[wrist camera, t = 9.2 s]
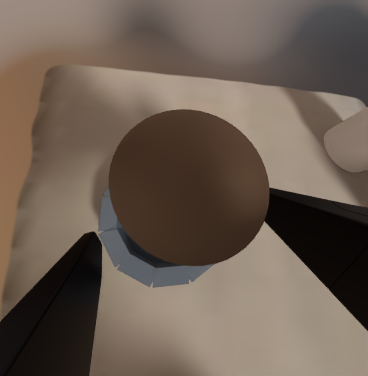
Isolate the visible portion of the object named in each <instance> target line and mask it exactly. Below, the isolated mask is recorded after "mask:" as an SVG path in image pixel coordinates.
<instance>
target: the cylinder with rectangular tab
mask: <svg viewBox="0 0 368 376" xmlns="http://www.w3.org/2000/svg"><path fill="white" fill-rule="evenodd" d="M324 145H325V148H326V151H327V153H328V155H329V156H330V158H331V159H332V160H333V161H334V162H335V163H336V164H337V165H338V166H339V167H341V168H342V169H344V170H346V171H348V172H352V173H359V172H362V171H366V170H368V107H367V108H365V109H363V110H362V111H360V112H358V113H356V114H355V115H353V116H351V117H349V118H348V119H346V120H344V121H343V122H341V123H339V124H337V125H336V126H334V127H332V128H331V129H329V130H328V131H327V132H326V133H325V135H324Z"/></svg>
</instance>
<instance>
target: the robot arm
mask: <svg viewBox="0 0 368 376" xmlns="http://www.w3.org/2000/svg"><path fill="white" fill-rule="evenodd" d="M264 221H265V222H266V223H267V224H268V225H269V227H270V228H271V229H272V230H273V231H274V232H275V233H276V234H277V235H278V236H279V237H280V238H281V239H282V240H283V241H284V242H285V244H286V245H287V246H288V247H289V248H290V249H291V250H292V251H293V252H294V253H295V254H296V255H297V256H298V257H299V258H300V259H301V261H302V262H303V263H304V264H305V265H306V266H307V267H308V268H309V269H310V270H311V271H312V272H313V273H314V274H315V275H316V276H317V277H318V279H319V280H320V281H321V282H322V283H323V284H324V285H325V286H326V287H327V288H328V289H329V290H330V291H331V293H332V294H333V295H334V296H335V297H336V298H337V299H338V300H339V301H340V302H341V303H342V304H343V305H344V306H345V307H346V308H347V310H348V311H349V312H350V313H351V314H352V315H353V316H354V317H355V318H356V319H357V320H358V321H359V322H360V323H361V324H362V326H363V327H364V328H365V329H366V330H367V331H368V208H367V207H361V206H356V205H350V204H345V203H340V202H336V201H331V200H326V199H321V198H317V197H312V196H307V195H302V194H298V193H293V192H288V191H283V190H279V189H274V188H269V205H268V210H267V214H266V217H265V220H264ZM101 278H102V244H101V241H100V240H99V238H98V236H97V235H96V233H95V232H89V233H86V234H84V235H83V236H82V237H81V238H80V239H79V240H78V241H77V242H76V243H75V244H74V245H73V246H72V247H71V248H70V249H69V250H68V251H67V252H66V253H65V254H64V256H63V257H62V258H61V259H60V260H59V261H58V262H57V263H56V264H55V265H54V266H53V267H52V268H51V269H50V270H49V271H48V272H47V273H46V274H45V275H44V276H43V278H42V279H41V280H40V281H39V282H38V283H37V284H36V285H35V286H34V287H33V288H32V289H31V290H30V291H29V292H28V293H27V294H26V295H25V296H24V297H23V298H22V299H21V301H20V302H19V303H18V304H17V305H16V306H15V307H14V308H13V309H12V310H11V311H10V312H9V313H8V314H7V315H6V316H5V317H4V318H3V319H2V320H1V322H0V376H89V372H90V364H91V357H92V349H93V341H94V333H95V326H96V318H97V310H98V302H99V295H100V287H101Z"/></svg>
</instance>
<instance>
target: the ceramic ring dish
mask: <svg viewBox="0 0 368 376" xmlns="http://www.w3.org/2000/svg"><path fill="white" fill-rule="evenodd" d="M104 195H106V196H107V197H102V202H101V211H100V219H99V228H98V231H104V232H102V233H100V234H99V236H100V238H101V240H102V242H103V244H104V246H105V248H106V250H107V252H108V254H109V256H110V258H111V260H112V262H113V264H114V266H115V267H116V266H118V265H119V264H120V266H119V267H118V269H117V270H119V271H121V272H123V273H125V274H126V275H128V276H130V277H132V278H134V279H136V280H138V281H139V282H141V283H143V284H145V285H147V286H149V287H150V285H151V284H152V282H153V288H154V287H163V286H172V285H181V284H189V279H190V281H191V282H193V281H194V280H195V279H196V278H198V277H199V276H200V275H201V274H203V273H204V272H205V271H206V270H208V269H209V268H210V267H211V266H213V265H214V264H211V265H206V266H185V265H178V264H174V263H170V262H167V261H165V260H162V259H160V258H157V257H155V256H154V255H152V254H150V253H149V252H147V251H145V250H144V249H143V248H142V247H140V246H139V245H138V244H137V243H136V242H134V240H133V239H132V238H131V237H130V236H129V235H128V234H127V233H126V231H125V230H124V228H123V227H122V225H121V224H120V222H119V220H118V218H117V216H116V214H115V212H114V209H113V206H112V202H111V199H110V192H109V187H108V188H107V190H106V191H105V192H104Z"/></svg>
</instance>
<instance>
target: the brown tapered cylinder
mask: <svg viewBox="0 0 368 376" xmlns="http://www.w3.org/2000/svg"><path fill="white" fill-rule="evenodd" d="M109 192H110V199H111V202H112V206H113V209H114V212H115V214H116V216H117V218H118V220H119V222H120V224H121V225H122V227H123V228H124V230H125V231H126V233H127V234H128V235H129V236H130V237H131V238H132V239H133V240H134V242H136V243H137V244H138V245H139V246H140V247H142V248H143V249H144V250H145V251H147V252H149V253H150V254H152V255H154V256H155V257H157V258H160V259H162V260H165V261H167V262H170V263H174V264H178V265H185V266H206V265H211V264H216V263H219V262H222V261H224V260H227V259H229V258H231V257H233V256H234V255H236V254H238V253H239V252H240V251H242V250H243V249H244V248H246V246H247V245H248V244H249V243H250V242H251V241H252V240H253V239H254V238H255V236H256V235H257V233H258V232H259V230H260V228H261V226H262V225H263V223H264V220H265V217H266V214H267V210H268V205H269V182H268V176H267V173H266V169H265V166H264V164H263V161H262V159H261V157H260V155H259V154H258V152H257V150H256V149H255V147H254V146H253V144H252V143H251V142H250V141H249V140H248V138H247V137H246V136H245V135H244V134H243V133H242V132H241V131H239V130H238V129H237V128H236V127H234V126H233V125H232V124H230V123H228V122H227V121H225V120H223V119H221V118H219V117H217V116H214V115H212V114H209V113H205V112H201V111H196V110H182V109H181V110H171V111H166V112H162V113H159V114H156V115H153V116H151V117H149V118H147V119H145V120H143V121H142V122H140V123H139V124H137V125H136V126H135V127H134V128H133V129H131V130H130V131H129V132H128V134H127V135H126V136H125V137H124V138H123V140H122V141H121V143H120V144H119V146H118V147H117V150H116V152H115V154H114V156H113V159H112V163H111V166H110V172H109Z"/></svg>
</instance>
